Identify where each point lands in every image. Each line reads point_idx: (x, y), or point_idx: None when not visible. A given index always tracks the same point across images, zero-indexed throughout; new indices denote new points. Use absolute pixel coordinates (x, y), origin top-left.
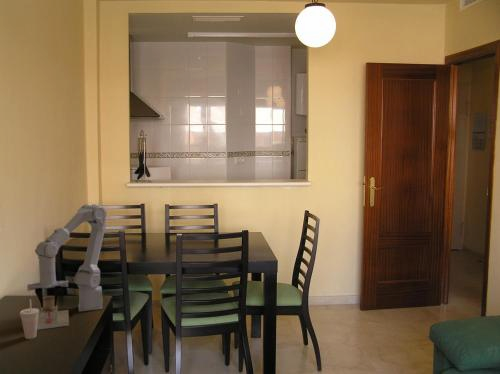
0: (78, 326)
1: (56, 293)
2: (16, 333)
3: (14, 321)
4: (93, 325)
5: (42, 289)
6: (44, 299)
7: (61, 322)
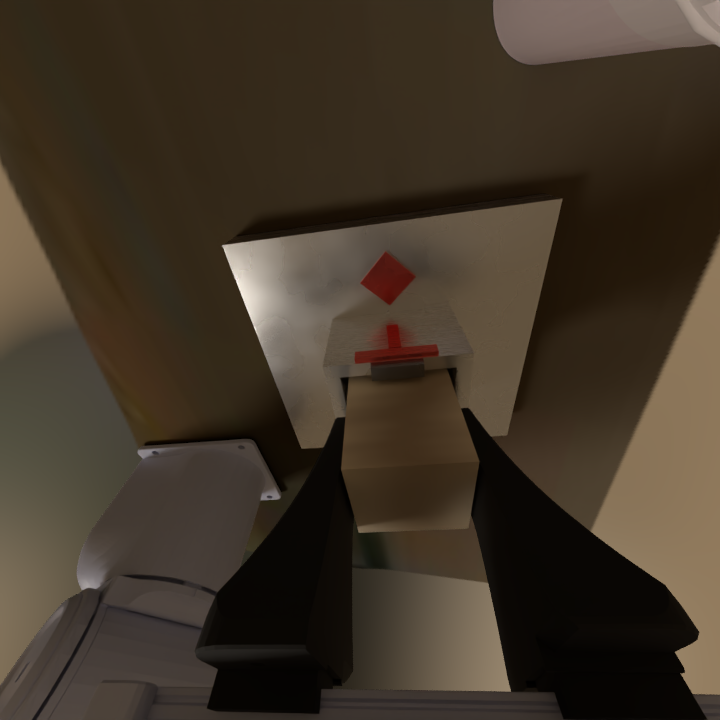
0: (144, 195)
1: (293, 553)
2: (652, 164)
3: (593, 399)
4: (17, 184)
5: (507, 653)
6: (458, 486)
7: (283, 247)
